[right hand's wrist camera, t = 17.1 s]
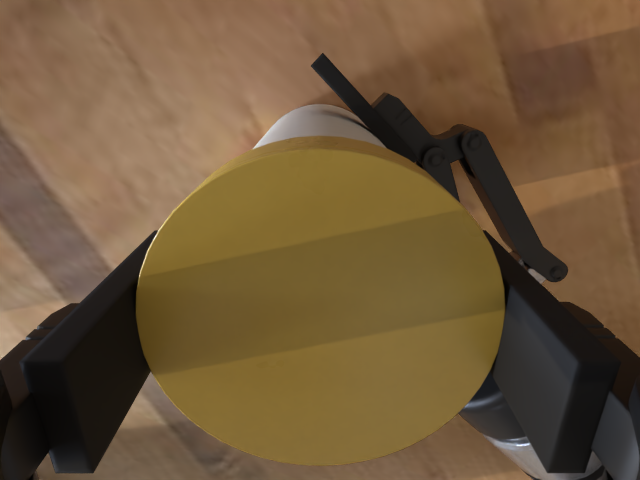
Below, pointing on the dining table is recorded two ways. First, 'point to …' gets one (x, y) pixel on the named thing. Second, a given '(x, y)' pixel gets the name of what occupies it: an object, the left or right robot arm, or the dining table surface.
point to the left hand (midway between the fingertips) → (253, 129)
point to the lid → (320, 303)
